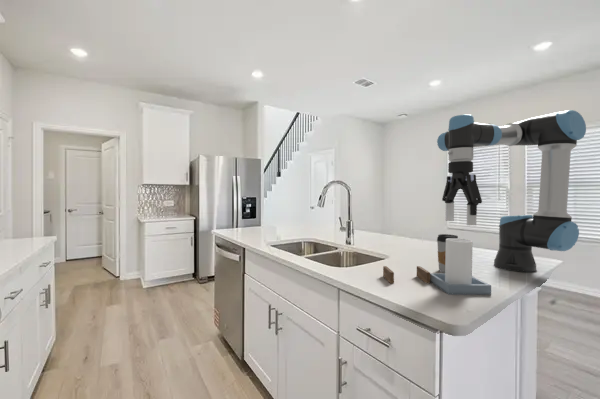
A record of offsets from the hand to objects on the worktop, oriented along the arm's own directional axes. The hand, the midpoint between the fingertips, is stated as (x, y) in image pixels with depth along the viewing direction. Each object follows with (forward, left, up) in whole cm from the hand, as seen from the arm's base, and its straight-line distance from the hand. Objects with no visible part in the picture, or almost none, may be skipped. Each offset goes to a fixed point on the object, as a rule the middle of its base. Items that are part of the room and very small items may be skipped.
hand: (459, 223), depth 103 cm
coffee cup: (-7, -21, -23) cm, 32 cm away
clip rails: (+15, -9, -23) cm, 29 cm away
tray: (0, 0, -23) cm, 23 cm away
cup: (0, 0, -22) cm, 22 cm away
